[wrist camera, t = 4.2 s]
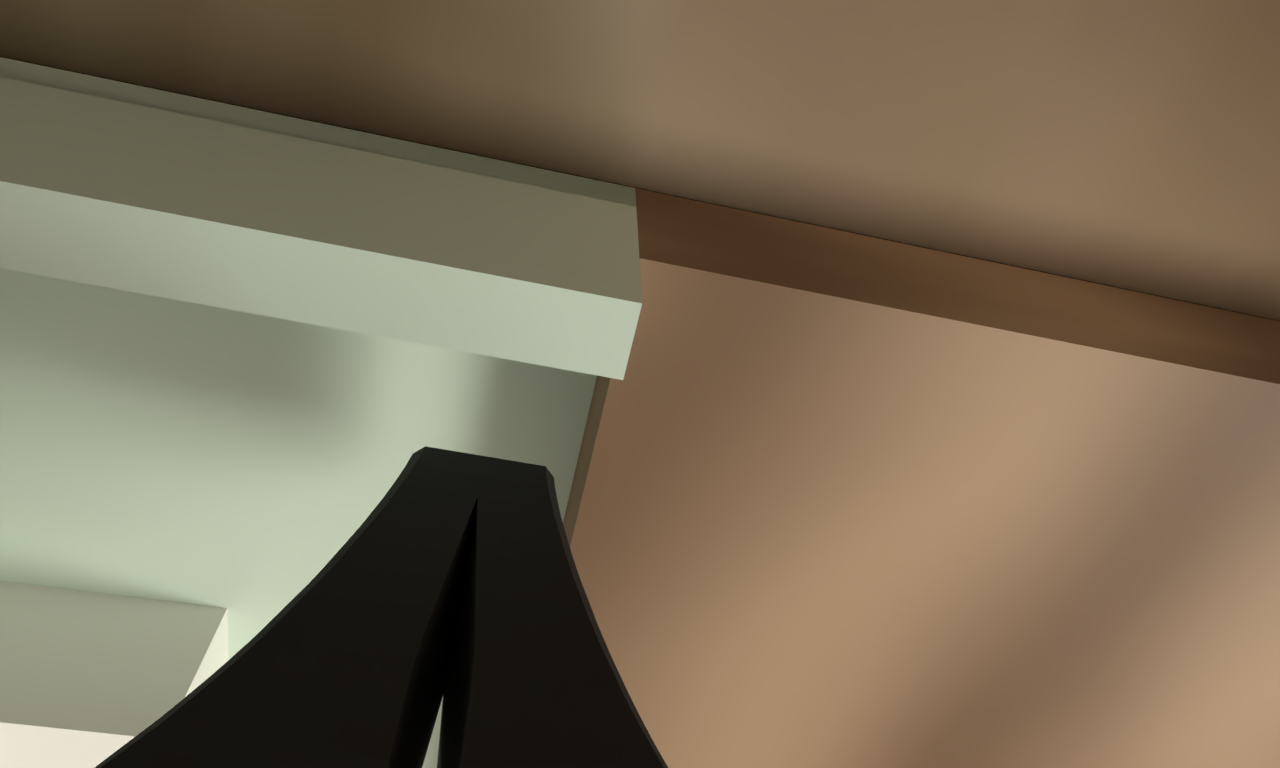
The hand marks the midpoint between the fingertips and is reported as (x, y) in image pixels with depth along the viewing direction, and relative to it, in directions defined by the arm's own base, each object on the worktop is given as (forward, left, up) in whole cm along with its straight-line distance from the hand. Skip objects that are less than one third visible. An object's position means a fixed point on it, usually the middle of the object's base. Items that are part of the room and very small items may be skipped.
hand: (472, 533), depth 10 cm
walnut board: (-8, +5, -3) cm, 10 cm away
